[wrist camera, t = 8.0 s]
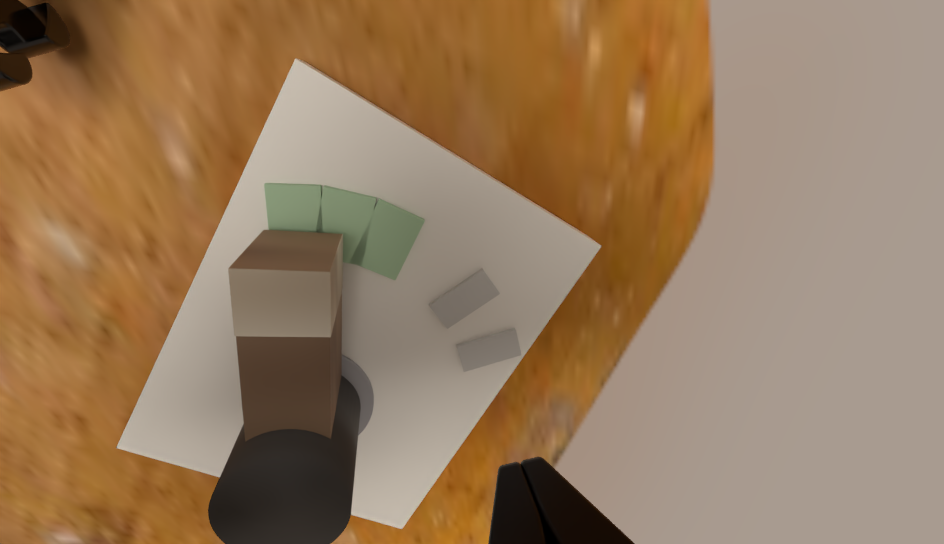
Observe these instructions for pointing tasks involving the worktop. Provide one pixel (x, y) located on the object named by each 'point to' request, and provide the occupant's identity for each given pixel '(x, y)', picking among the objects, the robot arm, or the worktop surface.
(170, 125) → the worktop surface
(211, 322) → the dial board
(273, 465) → the lever
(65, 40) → the valve
